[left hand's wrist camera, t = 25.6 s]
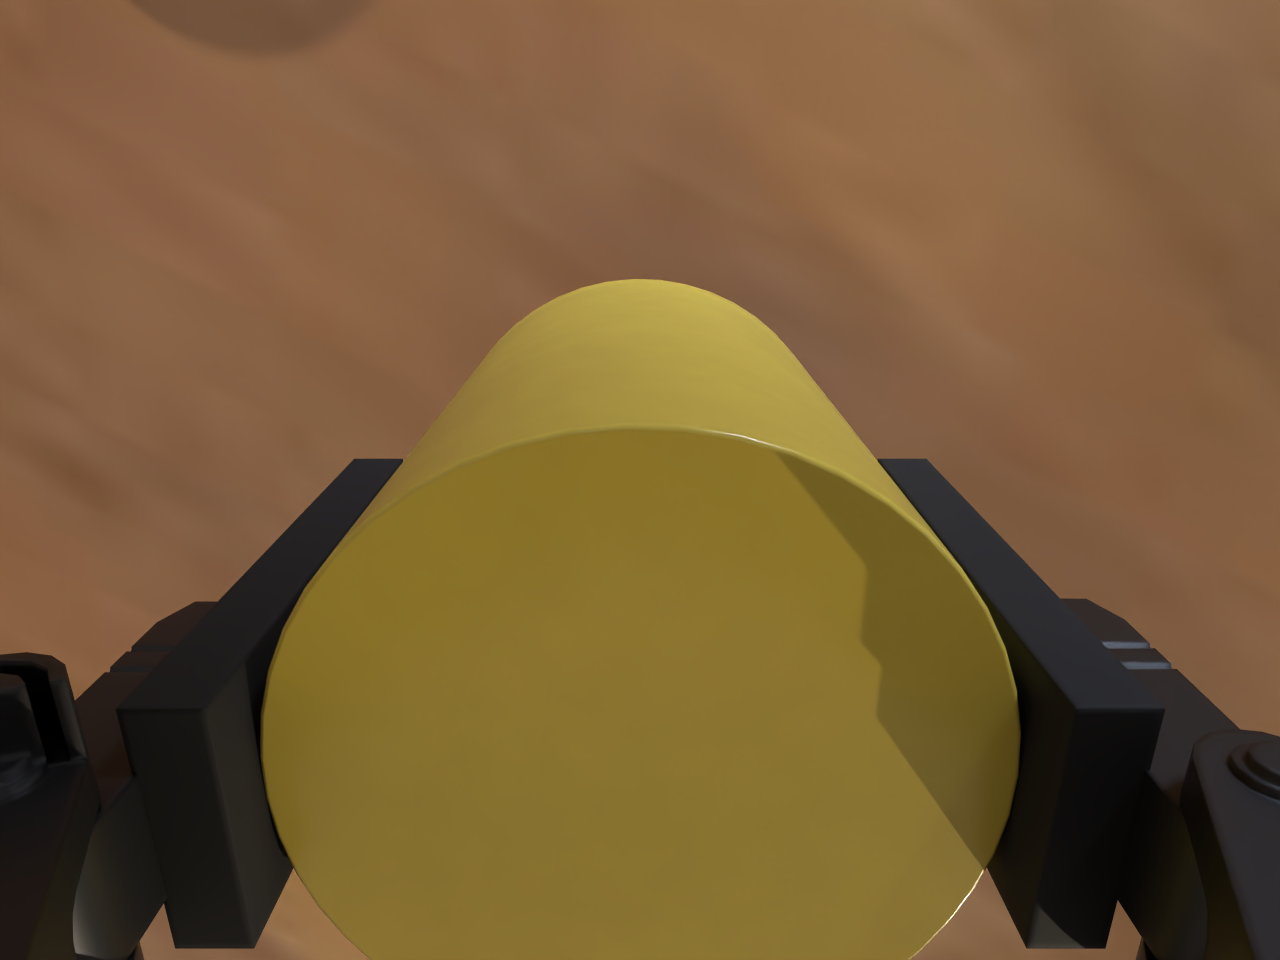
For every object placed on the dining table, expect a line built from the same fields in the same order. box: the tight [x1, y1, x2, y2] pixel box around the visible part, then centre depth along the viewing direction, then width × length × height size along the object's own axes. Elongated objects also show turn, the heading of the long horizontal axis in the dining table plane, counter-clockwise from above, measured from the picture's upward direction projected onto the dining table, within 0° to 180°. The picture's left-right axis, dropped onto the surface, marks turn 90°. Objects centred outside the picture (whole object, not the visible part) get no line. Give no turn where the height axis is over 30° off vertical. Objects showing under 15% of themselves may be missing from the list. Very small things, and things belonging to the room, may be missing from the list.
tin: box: [260, 279, 1021, 960], centre depth 13 cm, size 7×7×9 cm
